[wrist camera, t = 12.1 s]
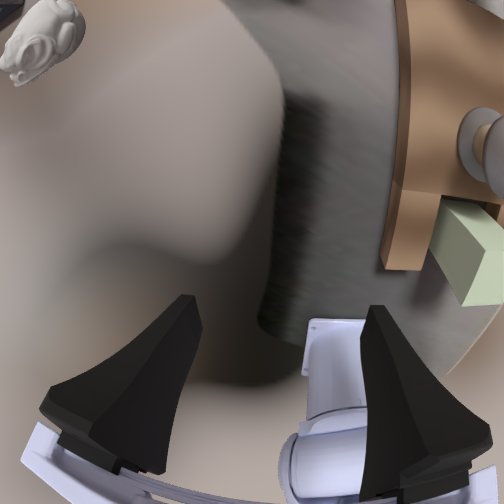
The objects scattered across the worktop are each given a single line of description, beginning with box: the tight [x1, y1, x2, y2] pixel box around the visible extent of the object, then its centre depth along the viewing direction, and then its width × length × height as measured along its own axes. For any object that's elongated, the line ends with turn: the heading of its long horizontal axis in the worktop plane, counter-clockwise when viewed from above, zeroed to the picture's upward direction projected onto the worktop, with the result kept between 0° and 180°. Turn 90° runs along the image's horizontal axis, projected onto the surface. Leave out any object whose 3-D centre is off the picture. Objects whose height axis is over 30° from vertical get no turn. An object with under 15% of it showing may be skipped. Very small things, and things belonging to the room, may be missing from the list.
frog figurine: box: [0, 0, 86, 87], centre depth 10 cm, size 6×7×7 cm
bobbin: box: [457, 107, 504, 200], centre depth 10 cm, size 5×5×4 cm
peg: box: [428, 199, 504, 306], centre depth 14 cm, size 4×4×7 cm
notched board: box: [379, 0, 504, 270], centre depth 13 cm, size 20×12×2 cm, turn 3°
